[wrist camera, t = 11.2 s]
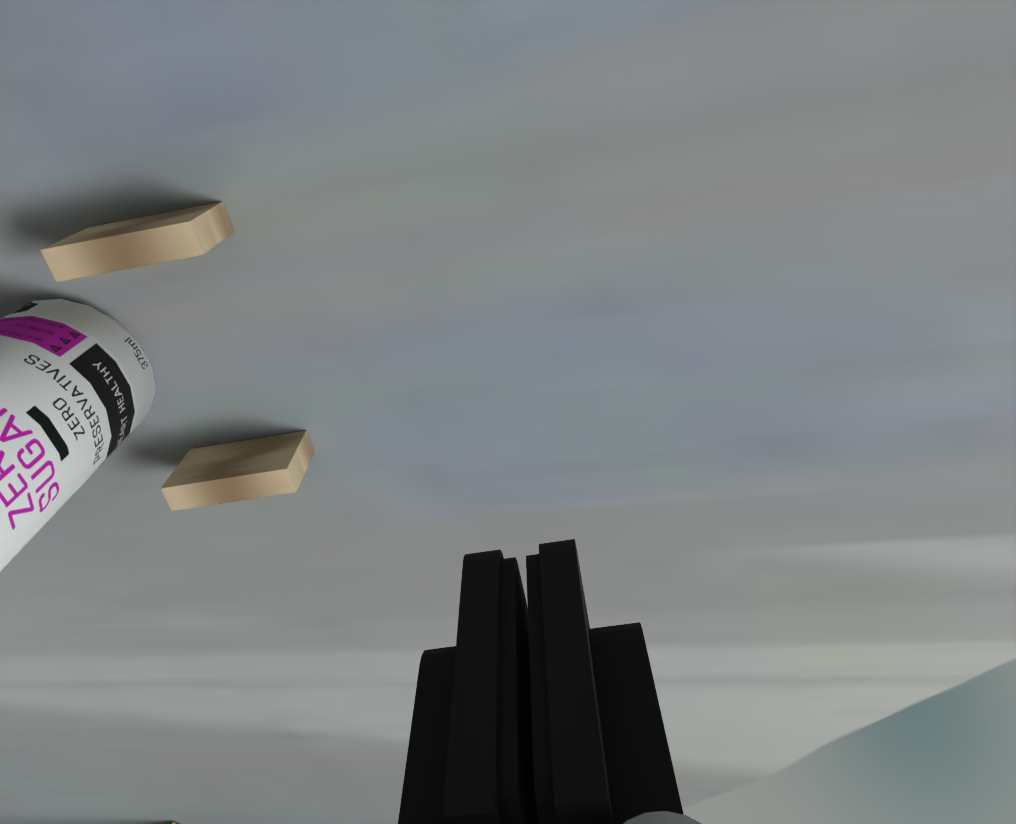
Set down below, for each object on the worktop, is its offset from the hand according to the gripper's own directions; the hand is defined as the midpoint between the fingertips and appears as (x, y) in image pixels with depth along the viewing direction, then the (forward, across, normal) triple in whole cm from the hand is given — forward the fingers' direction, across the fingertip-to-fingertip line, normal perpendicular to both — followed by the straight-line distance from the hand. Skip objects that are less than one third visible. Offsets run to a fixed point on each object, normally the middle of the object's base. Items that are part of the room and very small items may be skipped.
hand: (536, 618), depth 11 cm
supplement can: (+27, +24, +4) cm, 37 cm away
